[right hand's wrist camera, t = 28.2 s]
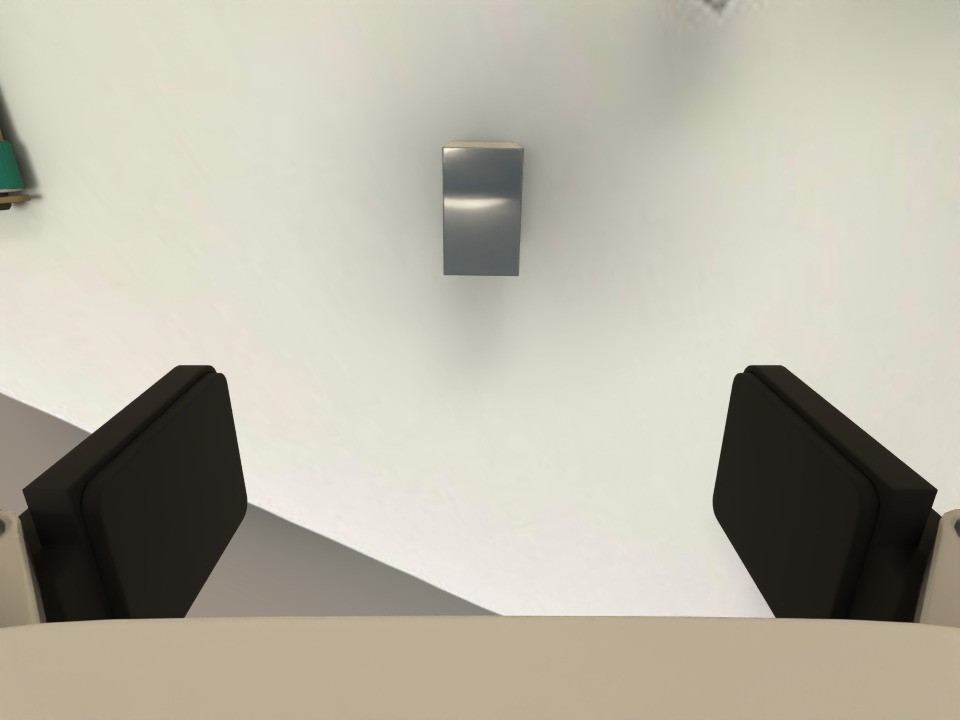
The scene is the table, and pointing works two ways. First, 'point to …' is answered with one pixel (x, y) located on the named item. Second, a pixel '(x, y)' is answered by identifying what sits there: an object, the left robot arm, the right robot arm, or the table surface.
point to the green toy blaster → (9, 176)
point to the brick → (482, 208)
